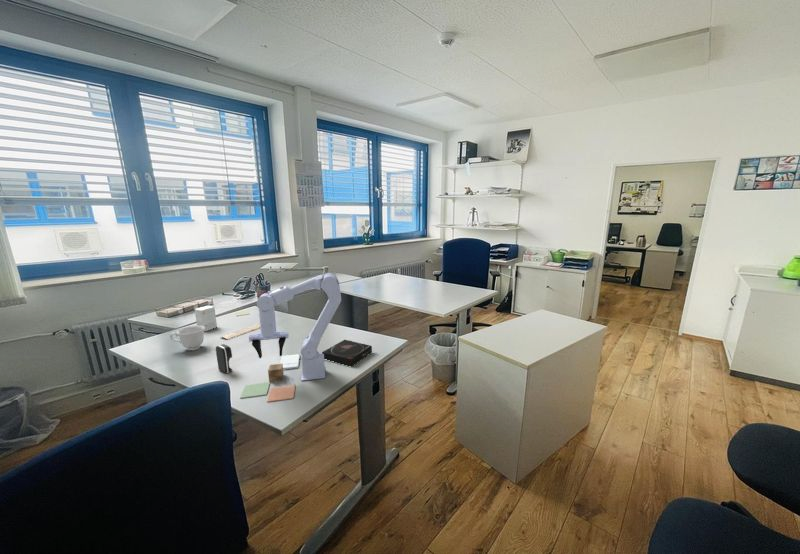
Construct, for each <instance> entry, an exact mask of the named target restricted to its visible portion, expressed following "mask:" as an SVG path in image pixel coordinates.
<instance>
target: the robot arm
mask: <svg viewBox="0 0 800 554" xmlns="http://www.w3.org/2000/svg"><path fill="white" fill-rule="evenodd" d="M312 289H314V290H318V291H321V290H323V292H325V294H326V295H327V298H328V299H327V302H326V303H325V305H324V307H323V308H322V311H321V312H320V314H319V317H318V318H317V320H316V321H315V324H314V326H313V328H312V329H311V331H310V332H309V334H308V335H307V336H306V337H305V338H304V339H303V340H302V343H301V344H302V345H301V348H300V360H301V363H300V364H301V377H300V381H302V382H304V381H310V380H311V381H312V380H319V379H320V380H321V379H325V378H326V371H327V369H326V368H327V367H326V366H325V360H324V354H322V353H320V352H319V351H318V348H319V345H320V344H321V343H320V342H321V339H322V337H323V335H324V333H325V332H326V331H327V327H328V326H329V324H330V322H331V320H332V319H333V317H334V315H335V314H336V312H337V310H338V307H339V306H340V304H341V302H342V295H341V293H342V292H341V287H340V281H339V279H338V278H337V276H336V274H334V273H333V272H325V273H324V274H319V275H316V276H314V277H311V278H309V279H307V280H304V281H302V282H300V283H297V284H295V285H293V286H288V285H285V286H284V285H281V286H279V287H278V288H277V289H274V290H272V291H271V290H269V291H267V292H265V293H263V294H261V295H260V296H259V297H258V298H257V301H256V306H257V308H258V317H259V324H260V328H259V329H260V333H256V334H250V335H249V336H248V342H250V343H251V345H252V347H253V349H255V351H256V353H257V355H258V356H257V357H258V358H259V359H262V357H263V354H262V353H263V352H262V341H264V340H265V341H270V340H277V341H278V348H279V357H282V356H283V347H284V346H285V343H286V339H289V338H290V335H289V332H288V331H286V332H285V331H284V332H283V331H277V322H276V311H275V306H278V305H281V304H284V303H286V302H288V301H291V300H293V298H294V295H298V294H301V293H303V292H307V291H309V290H312Z"/></svg>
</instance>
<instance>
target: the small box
mask: <svg viewBox="0 0 800 554" xmlns="http://www.w3.org/2000/svg"><path fill="white" fill-rule="evenodd" d="M194 315H195V321H196V326H198V325H199V326H204V327H205V329H204V333H205V332H208V331H210V330H214V329H216V327H217V328H218V325H217V324H218V323H217V316H216V308H215V306H213V305H204V306H201V307H197V308H194ZM213 328H214V329H213Z"/></svg>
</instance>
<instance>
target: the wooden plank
mask: <svg viewBox="0 0 800 554" xmlns="http://www.w3.org/2000/svg"><path fill="white" fill-rule="evenodd" d="M258 328H259V329H260V323H257V324H254V325H252V326H249V327H246V328H243V329H241V330H238V331H235V332H232V333H230V334H226V335H223V336H221V337H223V338H224V339H226V340H227V339H229V340H231V339H230V338H232V339H234V338H236V337H235V336H237V337H239V336H238V335H240V336H242V335H245V334H248V333H250V331H251V332H253V331H256V330H258ZM255 329H256V330H255ZM252 330H253V331H252ZM247 332H248V333H247ZM244 333H245V334H244ZM241 334H242V335H241ZM221 337H219V338H220V339H222V338H221ZM233 337H234V338H233Z"/></svg>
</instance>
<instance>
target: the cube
mask: <svg viewBox="0 0 800 554" xmlns="http://www.w3.org/2000/svg"><path fill="white" fill-rule="evenodd" d="M267 374H268V382H270V383H272V382H279V380H280V381H283V379H284V375H283V374H284V370H283V364H280V363H277V364H276V363H274V364H269V368H268V370H267ZM271 381H272V382H271Z"/></svg>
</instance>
